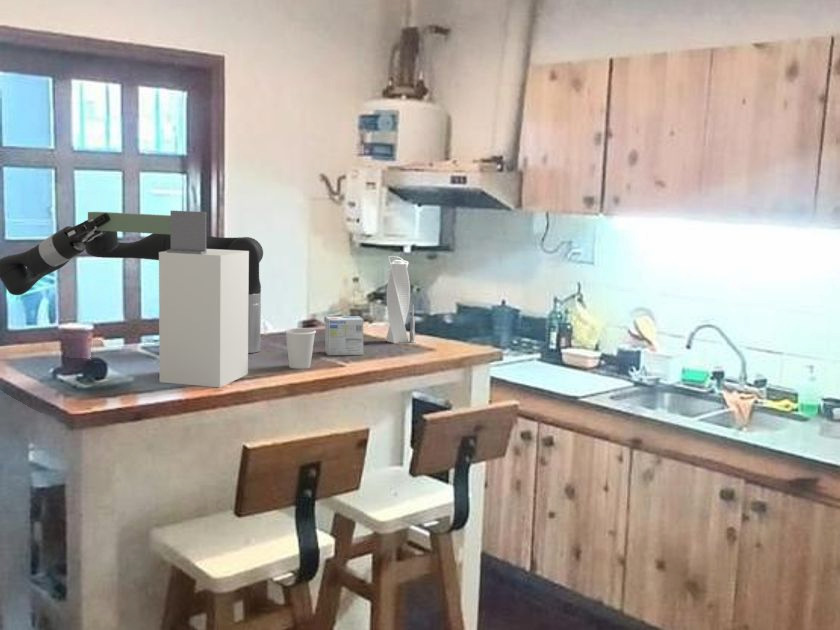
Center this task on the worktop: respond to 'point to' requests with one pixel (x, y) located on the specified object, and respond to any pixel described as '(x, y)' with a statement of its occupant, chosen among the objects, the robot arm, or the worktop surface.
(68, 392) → the worktop surface
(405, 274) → the skyscraper
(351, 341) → the light bulb box
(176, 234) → the bookend
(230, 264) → the tall white pillar
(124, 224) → the green bar
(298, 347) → the dixie cup
